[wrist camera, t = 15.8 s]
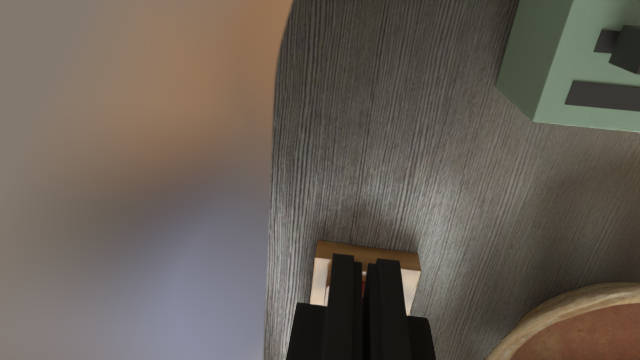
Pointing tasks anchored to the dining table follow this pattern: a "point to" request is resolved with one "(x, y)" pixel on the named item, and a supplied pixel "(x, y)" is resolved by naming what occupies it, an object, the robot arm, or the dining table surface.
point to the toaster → (571, 64)
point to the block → (364, 255)
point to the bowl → (578, 326)
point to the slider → (627, 50)
